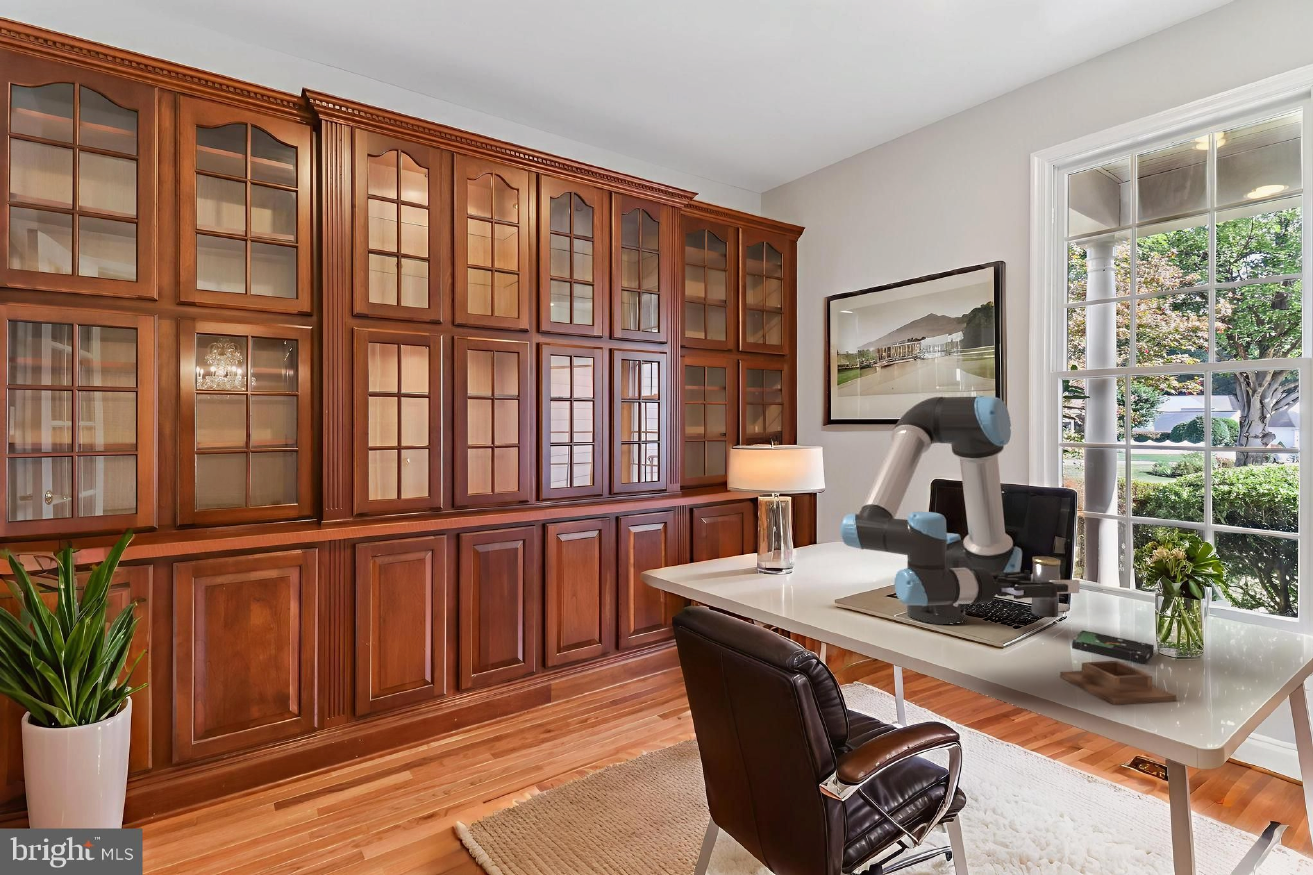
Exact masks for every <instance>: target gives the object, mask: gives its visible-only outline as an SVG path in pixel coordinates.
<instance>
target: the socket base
mask: <svg viewBox="0 0 1313 875" xmlns="http://www.w3.org/2000/svg"><path fill="white" fill-rule="evenodd" d="M1059 673H1060V674H1059V677H1061V678H1062V679H1064V680H1066V681H1067V682H1070V683H1072V684H1073V685H1075V686H1077V687H1079V688H1081V689H1083V690H1084V691H1087V692H1088V693H1090V694H1092V695H1094V696H1097V697H1098V698H1100V699H1102V700H1104V701H1106V702H1107V703H1110V704H1111V705H1113V706H1115V705H1128V704H1130V705H1131V704H1145V703H1157V702H1159V703H1160V702H1172V701H1176V700H1177V695H1176V694H1174V693H1172V692H1169V691H1167V690H1165V689H1162V688H1160V687H1158V686H1156V685H1154V684H1153V675H1150V674H1148V673H1146V672H1144V671H1142V670H1139V669H1137V668H1135V667H1133V666H1130V665H1128V664H1126V663H1123V662H1121V661H1119V660H1105V661H1102V660H1101V661H1087V662H1086V661H1085V662H1081V670H1073V671H1071V670H1070V671H1060V672H1059Z"/></svg>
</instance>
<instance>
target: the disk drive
mask: <svg viewBox="0 0 1313 875" xmlns="http://www.w3.org/2000/svg"><path fill="white" fill-rule="evenodd" d="M1076 635H1077V636H1075V637H1074V638H1072V642H1071V649H1073V650H1078V651H1082V652H1087V653H1091V654H1095V655H1100V656H1105V657H1107V658H1108V657H1109V658H1113V659H1117V660H1123V661H1126V662H1130V663H1134V664H1135V663H1136V664H1140V665H1144V666H1146V664H1147V663H1149V662H1150V659H1151V658H1152V656H1154V648H1155V647H1154V646H1155V645H1154V644H1151V643H1147V642H1141V641H1137V640H1131V639H1127V638H1121V637H1116V636H1111V635H1107V634H1101V633H1098V632H1092V631H1087V630H1081V631H1080V632H1079V633H1078V634H1076ZM1148 661H1149V662H1148Z"/></svg>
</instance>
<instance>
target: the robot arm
mask: <svg viewBox="0 0 1313 875" xmlns="http://www.w3.org/2000/svg"><path fill="white" fill-rule="evenodd" d="M1011 424H1012V423H1011V417H1010V412H1009V409H1008V407H1007V405H1006V403H1005V402H1004V401H1003V399H1001V398H999V397H995V396H984V395H978V396H934V397H930V398H926V399H925V400H922V401H920V402H919V403H917V404H914V406H912V407H911V408H910V409H908V410H907V411H906V412H905V413H904V414H903V415H902V416H901V418H899V419H898V421H897V423H895V426H894V428H893V430H892V432H891V435H890V436H891V438H890V439H891V441H892V442H891V444H890V446H889V448H888V451H887V453H886V455H885V457H884V459H883V462H882V464H881V466H880V467H879V470H878V472H877V474H876V477H874V478H875V479H874V481H873V483H872V485H871V487H870V490H869V492H868V493H867V496H866V498H865V500H864V502H863V505H862V507H861V509H860V511H859V512H858V513H848V514H847V515H845V516H844V517H843V519H842V521H841V525H840V537H841V539H842V542H843V543H844V545H846V546H847V547H851V548H854V549H855V548H856V549H860V550H869V551H875V552H885V553H888V554H889V553H890V554H897V555H903V556H904V555H905V556H906V557H907V561H906V562H907V565H906V566H907V567H906V568H904V569H903V568H902V569H899V570H898V571H897V572H896V574H895V578H894V580H893V581H894V590H895V594H896V597H897V598H898V600H899V601H900V602H901V603H902V604H904V605H905V606H906V615H907V614H908V615H909V616H910V617H909V616H908V615H907V616H908V617H909V618H911V617H912V618H911V619H913V618H914V619H913V620H916V619H917V620H916V621H919V620H921V621H920V622H922V621H923V622H924V623H927V622H929V623H928V624H934V625H943V624H950V623H957V622H962V621H963V620H965V621H966V609H965V606H964V605H966V604H967V605H970V604H972V605H974V604H975V605H976V604H977V605H978V604H980V605H982V604H989V603H991V602H992V601H993V600H994V598H995V596H996V595H997V596H998V597H1007V596H1013V599H1014V600H1021V599H1032V598H1043V597H1050V598H1053V597H1057V594H1059V595H1061V594H1080V583H1081V582H1080V580H1079V579H1061V573H1059V580H1049V582H1035V581H1033V573H1031V574H1030V572H1031V571H1030V570H1027V569H1025V570H1023V573H1022V572H1021V567H1022V560H1023V558H1022V557H1023V550H1022V549H1021V548H1020V547H1018V546H1014V541H1013V539H1012V537H1011V536H1010V535H1008V534H1007V533H1006V528H1005V518H1004V516H1005V515H1004V507H1003V496H1002V488H1001V487H1002V486H1001V477H1000V476H1001V475H1000V466H999V456H998V455H999V454H1001V453H1002V452H1003V451H1004V449H1005V446H1006V445H1008V443H1009V442H1010V439H1011V436H1012V435H1011V434H1012V430H1011V426H1012V425H1011ZM933 444H950V445H951V452H952V454H953V455H954V456H956V457H957V458H958V459H959V463H960V464H959V465H960V473H961V481H962V489H963V498H964V505H965V514H966V523H967V531H968V534H967V535H966V536H965V537H964V538H963V540H961V538H962V537H961V535H960V534H959V533H949V532H947V519H946V517H945V516H944V515H943V514H941V513H938V512H933V511H913V512H910V513H909V514H908V518H907V519H905V518H904V519H903V518H896V515H897V513H898V511H899V509H900V506H901V504H902V502H903V501H904V500H903V499H904V498H905V494H906V493H907V490H908V488H909V486H910V483H911V481H912V479H913V476H914V474H915V472H916V470H917V467H918V465H919V463H920V460H921V458H922V456H923V454H925V453H926V452H928V451H929V449H930V448H931V447H932V445H933ZM962 623H963V622H962Z"/></svg>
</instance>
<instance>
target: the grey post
mask: <svg viewBox="0 0 1313 875" xmlns="http://www.w3.org/2000/svg"><path fill="white" fill-rule="evenodd" d="M1060 565H1061V559H1059V558H1055V557H1051V556H1041V555H1040V556H1032V574H1033V581H1035V582H1049V580H1059V574H1061V573H1060V569H1061V568H1060ZM1059 597H1060V594H1057V597H1053V598H1050V597H1043V598H1031V613H1032V614H1033V615H1036V616H1039V617H1042V618H1043V617H1045V618H1057V617H1058V616H1059V604H1060V603H1059V602H1060V601H1059V600H1060V599H1059Z"/></svg>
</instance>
